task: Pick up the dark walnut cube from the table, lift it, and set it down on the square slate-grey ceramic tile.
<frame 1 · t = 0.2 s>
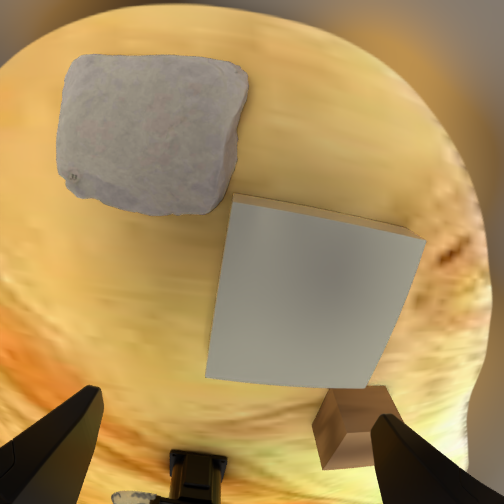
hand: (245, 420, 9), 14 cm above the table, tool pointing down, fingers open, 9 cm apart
cube: (347, 406, 28), on the table
tile: (305, 295, 23), on the table
stone block: (152, 135, 20), on the table
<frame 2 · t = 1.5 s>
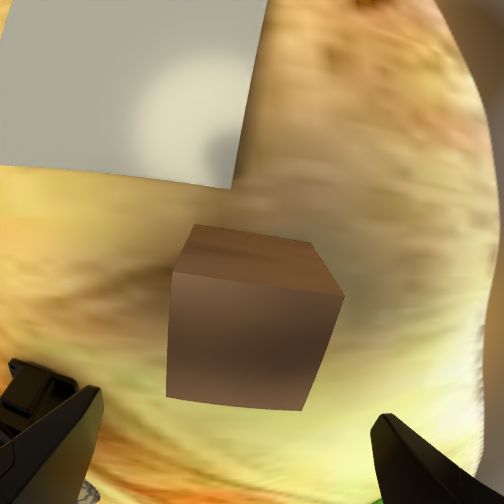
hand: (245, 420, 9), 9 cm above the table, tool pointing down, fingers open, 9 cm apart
decorative bowl: (49, 473, 26), on the table
cube: (243, 285, 17), on the table
tile: (127, 41, 12), on the table
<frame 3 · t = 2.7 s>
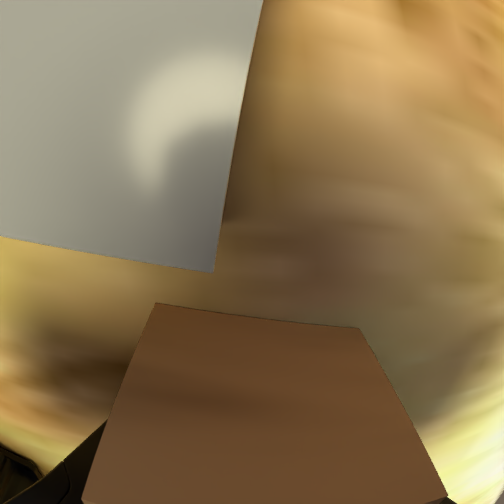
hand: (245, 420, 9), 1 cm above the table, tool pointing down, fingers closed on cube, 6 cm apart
cube: (244, 393, 10), on the table, touching gripper
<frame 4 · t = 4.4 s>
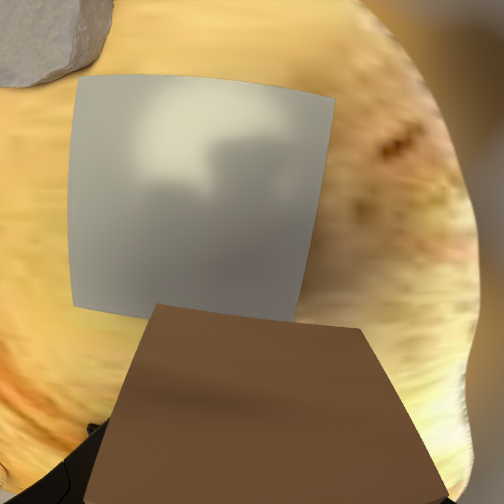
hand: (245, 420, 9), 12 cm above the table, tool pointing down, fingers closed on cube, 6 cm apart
cube: (245, 393, 10), point 11 cm above the table, touching gripper
tile: (191, 198, 18), on the table
stone block: (43, 27, 14), on the table
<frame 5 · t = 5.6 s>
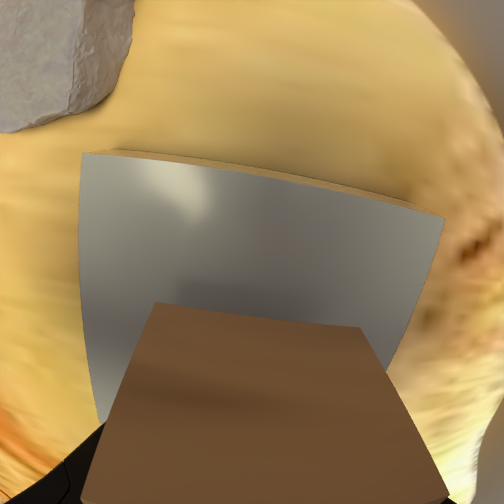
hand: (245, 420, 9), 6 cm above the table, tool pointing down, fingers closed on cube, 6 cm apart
cube: (244, 392, 10), point 5 cm above the table, touching gripper
tile: (242, 312, 15), on the table
stone block: (33, 38, 10), on the table
when the fingers open (6 cm above the table, at t = 6.2 s): cube drops 1 cm, resting on tile.
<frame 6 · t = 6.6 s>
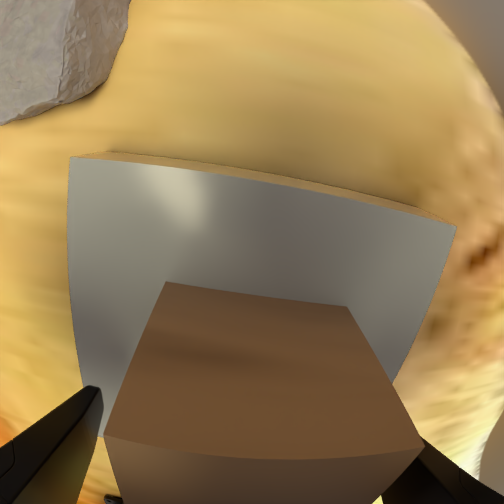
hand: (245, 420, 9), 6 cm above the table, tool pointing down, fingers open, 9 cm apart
cube: (243, 367, 11), point 3 cm above the table, touching tile
tile: (242, 322, 14), on the table
stone block: (26, 28, 9), on the table
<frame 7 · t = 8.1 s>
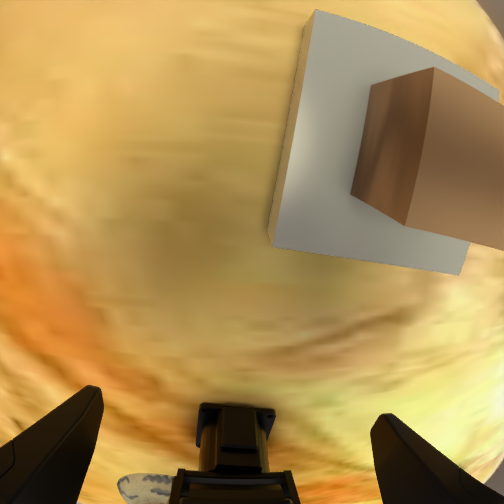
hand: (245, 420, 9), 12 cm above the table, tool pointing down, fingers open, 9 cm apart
decorative bowl: (171, 494, 32), on the table
cube: (409, 153, 15), point 3 cm above the table, touching tile
tile: (386, 149, 18), on the table
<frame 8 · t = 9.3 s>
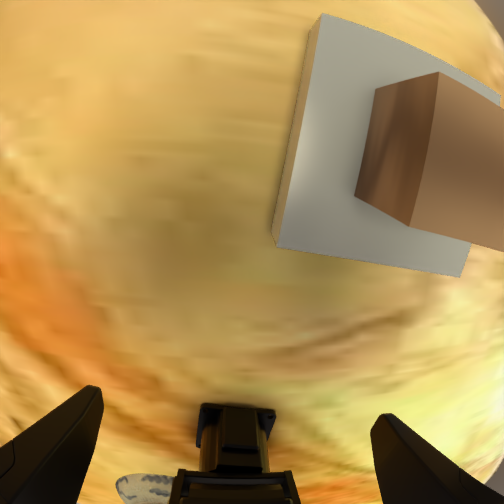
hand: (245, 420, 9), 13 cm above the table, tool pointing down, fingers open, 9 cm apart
decorative bowl: (169, 495, 32), on the table
cube: (412, 156, 15), point 3 cm above the table, touching tile
tile: (389, 152, 18), on the table
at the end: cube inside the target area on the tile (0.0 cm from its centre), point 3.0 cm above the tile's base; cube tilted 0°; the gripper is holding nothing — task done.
